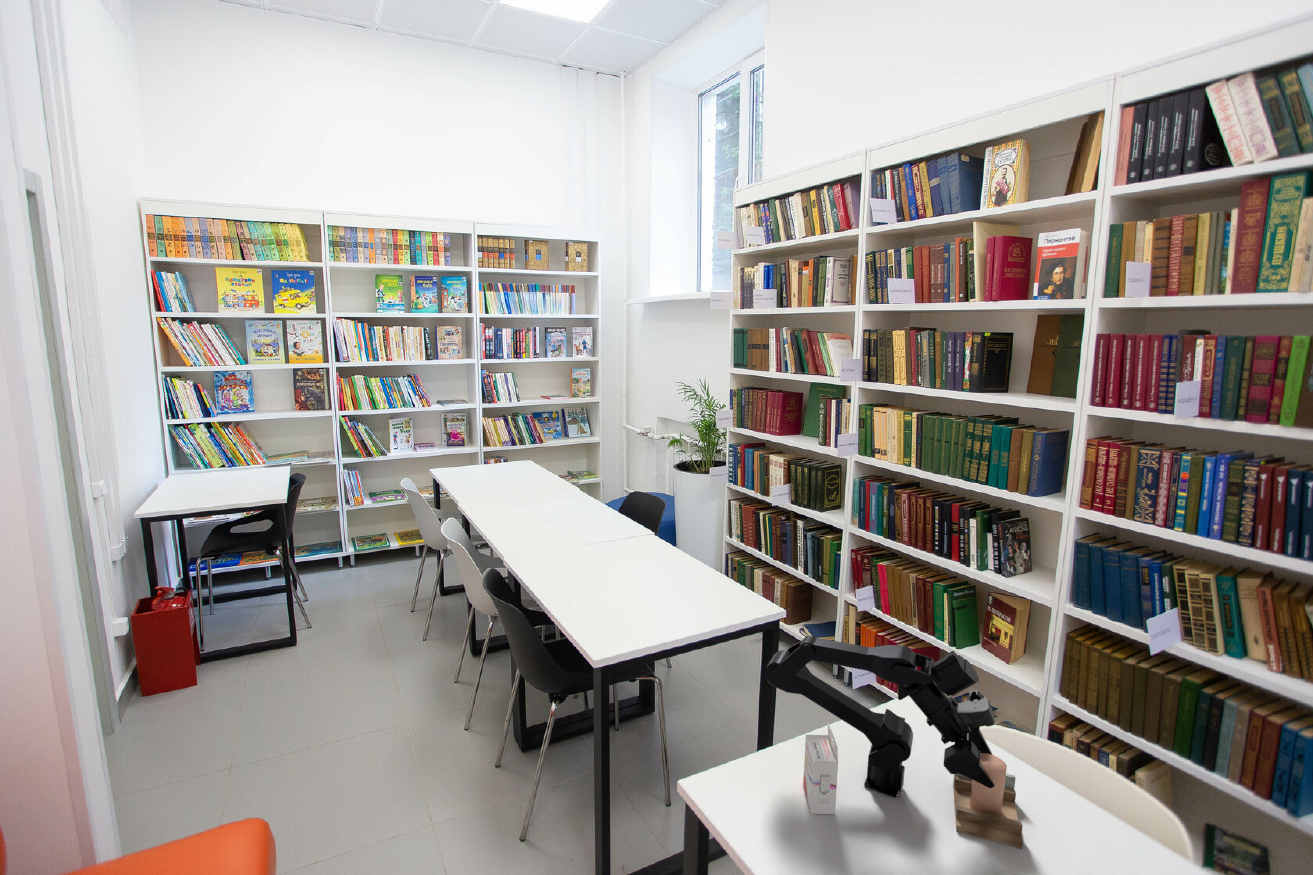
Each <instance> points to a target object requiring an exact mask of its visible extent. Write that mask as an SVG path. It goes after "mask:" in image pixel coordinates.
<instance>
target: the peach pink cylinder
mask: <svg viewBox="0 0 1313 875" xmlns="http://www.w3.org/2000/svg"><path fill="white" fill-rule="evenodd" d="M980 763H981V764H982V766H983V767H984V769H985V770H986V772H987V773H988V775H989V776H990V778H991V779H992V781H993V783H994V784H995V786H994V787H993V788H988V787H986V786H984V785H982V784H980V783H978V782H976V781H975V780H973V779H972V785H971V795H970V807H971V809H973V810H977V811H981V812H985V813H989V814H993V815H997V816H1001V813H1002V804H1003V795H1004V787H1005V778H1006V774H1007V764H1006V762H1005V761H1004V760H1002V759H1001V758H999V757H998V756H996V755H994V754H993V755H991V754H986V753H980Z"/></svg>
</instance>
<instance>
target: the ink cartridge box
mask: <svg viewBox="0 0 1313 875" xmlns="http://www.w3.org/2000/svg"><path fill="white" fill-rule="evenodd" d="M804 740H805V745H804V746H805V747H804V762H803V763H804V765H803V778H802V779H803V782H802V786H803V788H804V792H805V795H806V799H807V803H808V806H809V810H810V813H811V815H835V814H836V805H837V804H836V803H837V789H838V788H837V787H838V786H837V785H838V772H839V770H838V769H839V768H838V767H839V753H838V750H839V749H838V744H837V742H836V739H835V736H834V734H833V731H832V728H831V726H830V723H829V722H827V735H826V734H805V738H804Z"/></svg>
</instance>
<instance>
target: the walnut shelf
mask: <svg viewBox="0 0 1313 875" xmlns="http://www.w3.org/2000/svg"><path fill="white" fill-rule="evenodd" d="M952 780H953V781H952V787H953V788H952V789H953V803H954V815H955V830H956V832H959V833H963V834H966V835H971V836H974V837H978V838H980V839H986V840H989V841H992V842H995V843H999V844H1004V845H1007V846H1011V847H1014V848H1018V849H1021V850H1022V849H1023V845H1024V844H1023V843H1024V842H1023V838H1022V834H1023V833H1022V832H1023V822H1022V821H1019V817H1018V812H1017V807H1016V796H1017V793H1016V789H1015V784H1016V775H1014V774H1010V773H1006V778H1005V787H1004V795H1003V804H1002V813H1001V816H997V815H993V814H989V813H985V812H981V811H977V810H973V809H971V807H970V795H971V785H972V779H970V778H968V777H966V776H964V775H961V774H959V773H958V774H955V773H954V774H953V779H952Z"/></svg>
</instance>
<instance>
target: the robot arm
mask: <svg viewBox="0 0 1313 875" xmlns="http://www.w3.org/2000/svg"><path fill="white" fill-rule="evenodd" d="M811 661H815V662H819V663H826V664H830V665H835V666H841V667H846V668H851V669H855V670H856V669H857V670H860V671H865V672H870V673H872V674H874V676H877V677H878V678H879V679H881V680H884V681H886V682H889V683H891V684H895V685H897V689H898V696H897V699H898V700H899V701H901V700H903V699H906V698H907V697H909V698H910V699H911V701H913V703H914V704H915V705H916V707H918V709H919V710H920V711H921V712H922V713H923V714H924V716H925V717H926V724H927V725H928V726H929V727H932V726H933V727H934V728H935V729H936V730H937V731H938V733H940V737H941V738H940V739H941V742H942V743H943V744H944V745H946V744H948V743H954V744H951V745H950V746H948V747H946V748H945V749H944V753H943V754H944V755H943V767H944V768H945V769H946V770H947V771H948V773H949V774H950V775H954V773H955V774H958V773H959V774H961V775H964V776H966V777H968V778H970V779H973V780H975V781H976V782H978V783H980V784H982V785H984V786H986V787H988V788H993V787H994V786H995V784H994V783H993V781H992V779H991V778H990V776H989V775H988V773H987V772H986V770H985V769H984V767H983V766H982V764H981V763H980V753H986V754H991V755H994V754H993V752H992V751H991V749H990V747H989V744H988V743H987V741H986V739H985V737H984V735H983V733H982V731H981V728H980V727H984V726H985V727H987V728H988V727H992V726H994V725H995V724H996V723H995V722H996V721H995V713H994V710H993V707H992V705H991V701H990V699H988V698H987V696H985V695H983V694H982V693H981V692H980V691H979V690H978V689H972V690H970V691H969V696H968V699H967V698H965V699H964V701H963V702H958V700H957V699H956V698H955V697H954V696H956V695H958V694H960V693H961V692H963V691H965V690H967V689H968V688H970V687H972V686H974V685H976V684H977V683H979V682H980V678H979V675H978V673H977V671H976V669H975V668H974V667H973V665H972V664H971V663H970V661H969V660H968V659H966V658H965V657H963V656H962V655H960V654H957V652H955V651H954V650H951V651H949V652H948V653H947V654H946V655H945V656H943V657H942V658H940V659H939V660H935V659H934V658H932V657H929V656H927V655H923V654H920V653H917V652H915V651H913V649H912V648H911V647H908V646H906V645H901V644H899V645H898V644H895V645H894V644H887V645H886V644H885V645H881V646H875V647H874V646H865V645H859V644H854V643H848V642H842V641H836V640H831V639H824V638H820V637H816V636H814V635H806V636H805V637H803V639H801V640H800V641H798V642H797V643H794V644H793V645H791V646H790V647H789V648H787V649H782V650H778V651H776V652H775V653H774V654H773V656H772V658H771V659H770V661H769V663H768V664H767V665H766V667H765V670H764V671H765V672H764V674H765V677H766V680H767V682H768V684H769V685H771V686H772V687H774V688H776V689H778V690H781V692H784V693H787V694H793V695H794V694H795V695H801V696H803V697H805V698H806V699H808V700H810V701H811V702H812V703H815V704H816V705H817V706H819V707H821V708H822V709H824V710H825V711H827V712H829V713H830V714H832V715H834V716H835V717H837V718H838V719H840V720H841V721H843V722H844V723H846V724H847V725H849V726H851V727H853V728H854V729H856V730H857V731H859V732H860V733H862V734H863V735H864V736H865V737H866V739H867V740H868V741H869V742H870V744H871V745H870V750H869V753H868V758H867V768H866V769H867V772H866V779H865V781H864V783H863V786H864V787H866V788H868V789H870V790H874V791H876V792H878V793H881V794H884V795H885V796H886V795H887V796H890V797H892V798H897V797H898V794H899V791H902V789H903V786H904V780H905V770H906V769H905V768H906V767H905V766H904V765H903V762H905V761H908V759H910V756H911V753H912V749H913V748H912V747H913V743H914V742H913V741H914V732H913V730H912V727H911V726H910V724H909V723H907V722H906V718H905V717H902V716H899V715H897V714H896V713H894V712H893V711H892V710H890V709H889V708H886V709H885V711H884V713H880V712H875V711H872V710H871V709H869V708H867V707H866V706H864V705H862V703H859V702H857V701H856V700H855V699H853V698H851V697H849V696H848V695H846V694H845V693H843V692H842V691H840V690H838V689H837V688H835V687H833V686H832V685H830V684H829V683H827V682H825V681H824V680H822V679H821V678H819V677H817V676H816V675H814V673H813V674H812V672H811V671H810V669H809V668H808V667H807V664H809V663H810V662H811ZM918 667H919V668H920V670H919V669H917V668H918ZM949 696H950V697H949Z"/></svg>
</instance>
